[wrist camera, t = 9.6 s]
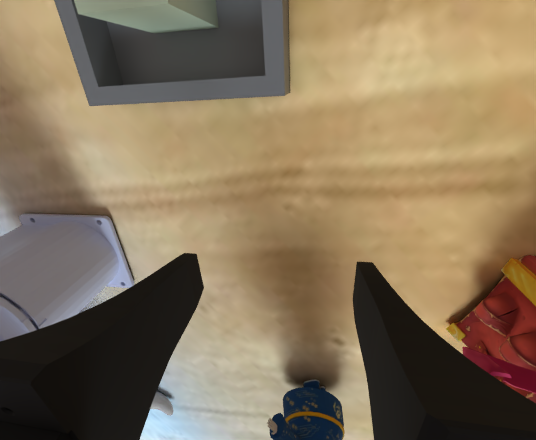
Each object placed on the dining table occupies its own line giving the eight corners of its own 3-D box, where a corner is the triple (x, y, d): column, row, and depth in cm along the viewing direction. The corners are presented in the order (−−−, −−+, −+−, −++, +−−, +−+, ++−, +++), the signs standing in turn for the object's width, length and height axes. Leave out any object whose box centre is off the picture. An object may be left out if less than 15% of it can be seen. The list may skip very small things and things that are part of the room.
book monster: (524, 350, 23) (387, 305, 24) (610, 270, 19) (439, 219, 20) (652, 525, 14) (420, 440, 15) (872, 442, 10) (530, 332, 11)
